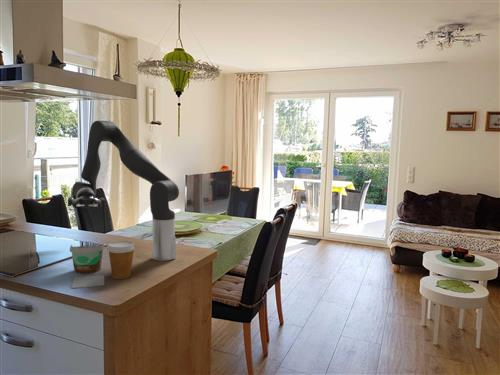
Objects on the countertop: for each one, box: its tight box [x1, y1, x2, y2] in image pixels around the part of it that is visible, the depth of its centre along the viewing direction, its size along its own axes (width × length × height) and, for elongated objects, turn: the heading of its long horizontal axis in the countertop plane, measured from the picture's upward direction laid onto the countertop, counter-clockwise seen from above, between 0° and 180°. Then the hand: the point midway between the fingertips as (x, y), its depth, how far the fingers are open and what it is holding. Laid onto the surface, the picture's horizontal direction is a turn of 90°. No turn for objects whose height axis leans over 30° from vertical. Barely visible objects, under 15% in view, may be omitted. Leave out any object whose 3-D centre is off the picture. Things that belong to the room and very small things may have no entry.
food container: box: [69, 243, 106, 275], centre depth 139 cm, size 12×6×10 cm, turn 105°
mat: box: [71, 274, 105, 290], centre depth 130 cm, size 10×10×1 cm
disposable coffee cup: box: [107, 240, 136, 280], centre depth 136 cm, size 10×10×12 cm
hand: (87, 205), depth 150 cm, fingers open, 8 cm apart
